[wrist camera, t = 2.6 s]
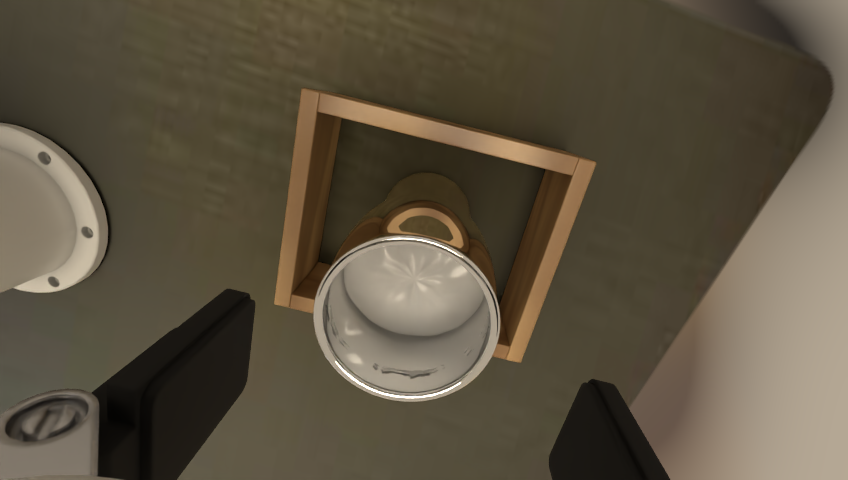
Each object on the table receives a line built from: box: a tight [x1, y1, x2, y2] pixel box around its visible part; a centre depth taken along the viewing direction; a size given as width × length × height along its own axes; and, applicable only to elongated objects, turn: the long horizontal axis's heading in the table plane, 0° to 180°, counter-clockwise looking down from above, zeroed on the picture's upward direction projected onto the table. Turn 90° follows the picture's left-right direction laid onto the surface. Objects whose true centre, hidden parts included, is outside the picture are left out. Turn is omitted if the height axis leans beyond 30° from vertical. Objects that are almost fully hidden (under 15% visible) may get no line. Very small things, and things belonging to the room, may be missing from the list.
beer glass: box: [313, 172, 501, 402], centre depth 21 cm, size 7×7×15 cm
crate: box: [274, 88, 596, 363], centre depth 25 cm, size 16×13×6 cm
